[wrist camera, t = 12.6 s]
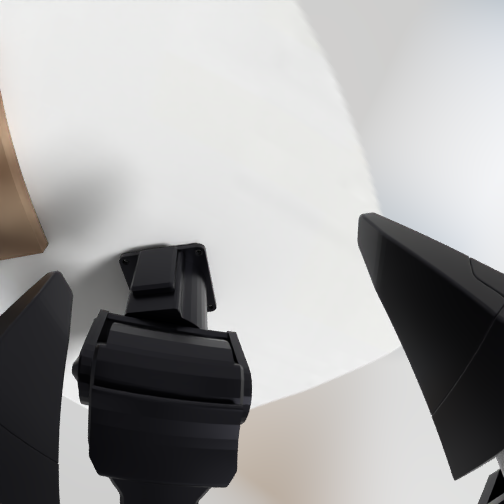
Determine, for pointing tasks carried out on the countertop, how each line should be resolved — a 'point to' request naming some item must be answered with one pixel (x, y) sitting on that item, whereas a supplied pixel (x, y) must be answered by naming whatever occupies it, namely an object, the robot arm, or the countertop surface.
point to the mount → (15, 204)
